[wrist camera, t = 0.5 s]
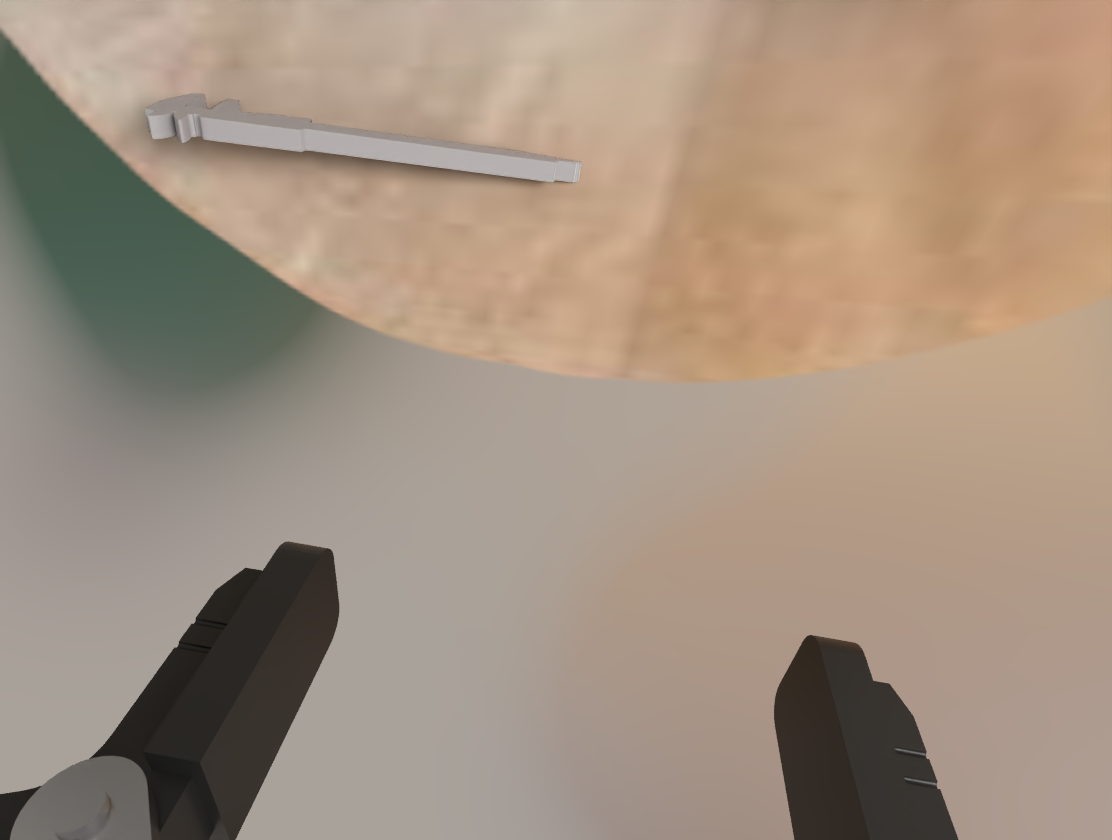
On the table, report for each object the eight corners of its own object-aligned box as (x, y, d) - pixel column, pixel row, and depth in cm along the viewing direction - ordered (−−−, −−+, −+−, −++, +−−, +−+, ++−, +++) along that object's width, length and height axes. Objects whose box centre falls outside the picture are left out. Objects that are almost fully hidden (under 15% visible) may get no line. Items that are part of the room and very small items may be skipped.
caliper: (201, 114, 34) (122, 136, 29) (198, 91, 33) (116, 109, 28) (579, 180, 34) (567, 215, 29) (582, 158, 33) (571, 189, 28)
